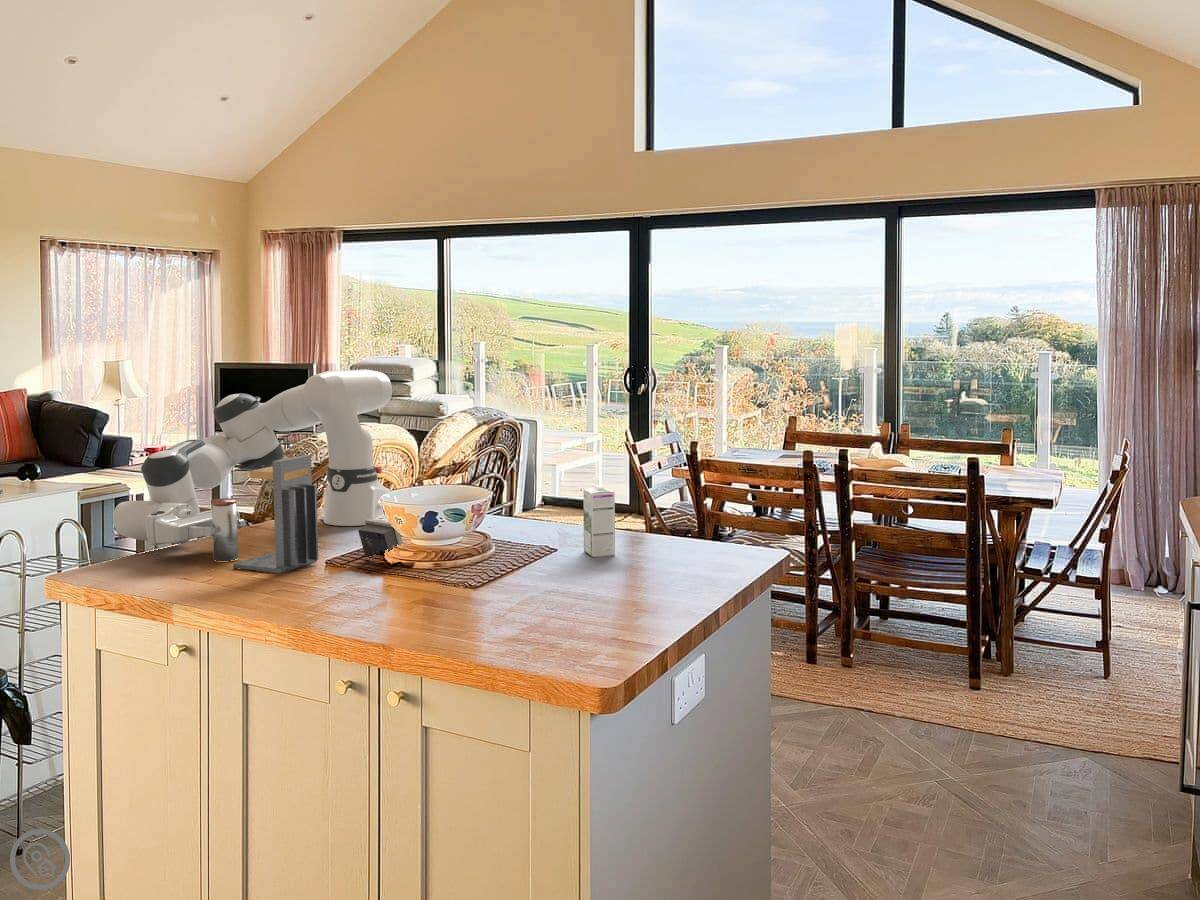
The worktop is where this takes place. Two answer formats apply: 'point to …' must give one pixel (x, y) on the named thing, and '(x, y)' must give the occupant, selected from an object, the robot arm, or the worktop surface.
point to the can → (225, 529)
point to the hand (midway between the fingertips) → (228, 527)
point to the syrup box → (599, 522)
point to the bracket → (289, 517)
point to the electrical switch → (378, 537)
